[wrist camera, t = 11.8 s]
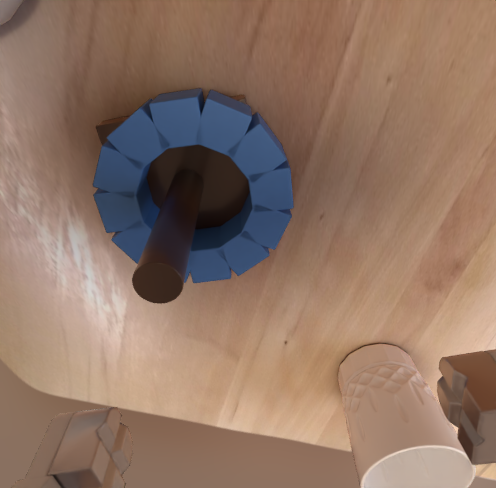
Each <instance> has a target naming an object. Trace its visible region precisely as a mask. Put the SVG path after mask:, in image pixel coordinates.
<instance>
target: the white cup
mask: <svg viewBox="0 0 496 488" xmlns="http://www.w3.org/2000/svg"><path fill="white" fill-rule="evenodd" d="M338 382H339V386H340V390H341V395H342V399H343V409H344V414H345V418H346V424H347V429H348V434H349V439H350V443H351V448H352V452H353V456H354V461H355V466H356V470H357V474H358V479H359V484H360V488H468V487H469V486H470V484H471V483H472V481H473V480H474V477H475V474H476V466H475V465H472V464H471V462H470V460H469V458H468V456H467V455H466V453H465V451H464V449H463V447H462V446H461V444H460V442H459V440H458V438H457V437H458V434H457V433H456V431H455V429H454V427H453V426H452V424H451V423H450V422H449V421H448V420H447V418H446V416H445V414H444V412H443V410H442V408H441V405H440V404H439V402H438V400H437V399H436V397H435V396H434V394H433V393H432V391H431V389H430V387H429V386H428V384H427V383H426V382H425V380H424V379H423V378H422V377H421V375H420V373H419V372H418V370H417V368H416V366H415V365H414V363H413V361H412V359H411V358H410V356H409V354H407V353H406V352H404V351H403V350H402V349H400V348H399V347H397V346H393V345H387V344H375V345H369V346H364V347H362V348H360V349H358V350H356V351H354V352H353V353H351V354H349V355H348V356H347V358H346V359H345V360H344V361H343V362H342V364H341V365H340V368H339V373H338Z"/></svg>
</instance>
